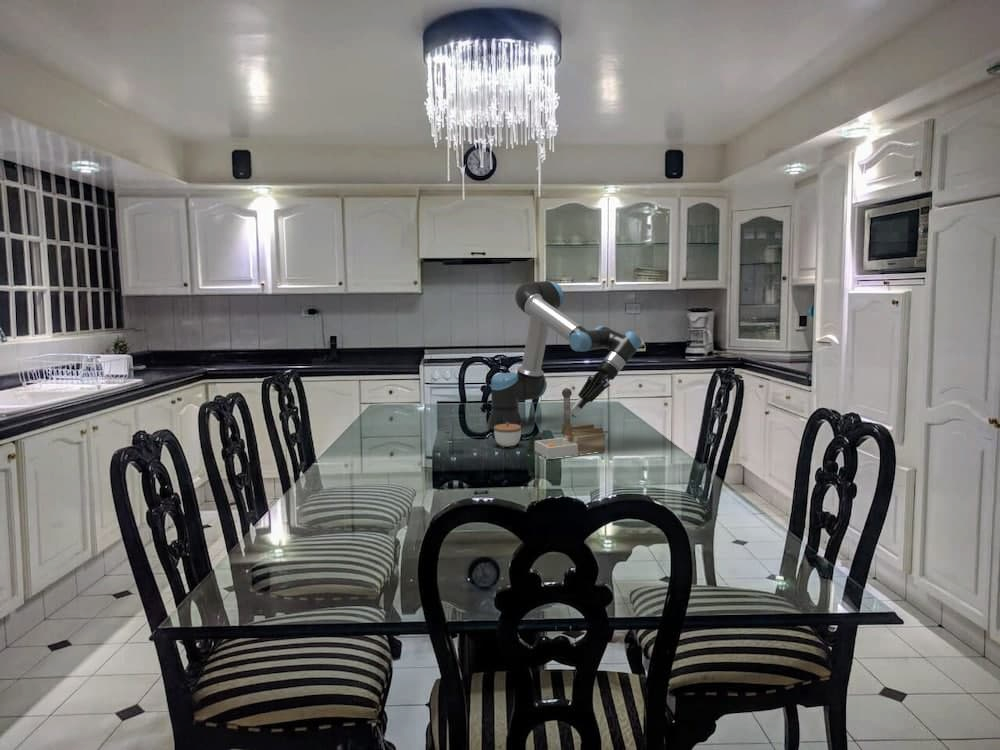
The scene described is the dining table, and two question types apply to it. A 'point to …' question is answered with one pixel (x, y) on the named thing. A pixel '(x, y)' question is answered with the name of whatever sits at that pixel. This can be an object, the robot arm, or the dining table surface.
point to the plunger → (566, 413)
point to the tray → (556, 448)
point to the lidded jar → (507, 434)
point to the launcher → (587, 438)
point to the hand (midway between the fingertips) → (572, 413)
